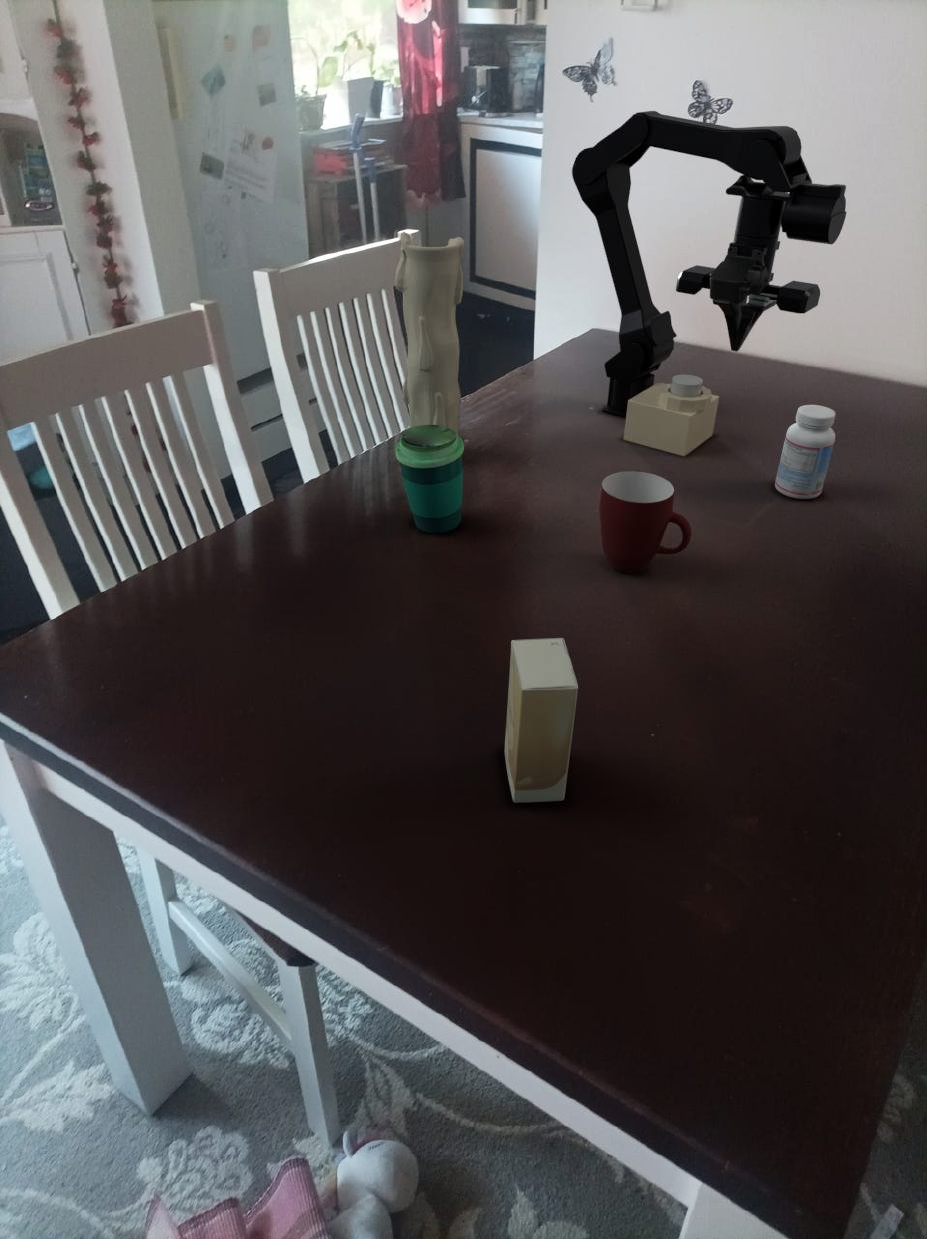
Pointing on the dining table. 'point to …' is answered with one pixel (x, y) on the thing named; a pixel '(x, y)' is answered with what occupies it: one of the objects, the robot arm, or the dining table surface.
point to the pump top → (686, 386)
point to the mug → (637, 519)
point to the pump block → (670, 419)
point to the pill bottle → (806, 453)
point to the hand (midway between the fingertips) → (735, 350)
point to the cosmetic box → (539, 719)
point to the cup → (432, 476)
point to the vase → (431, 330)
